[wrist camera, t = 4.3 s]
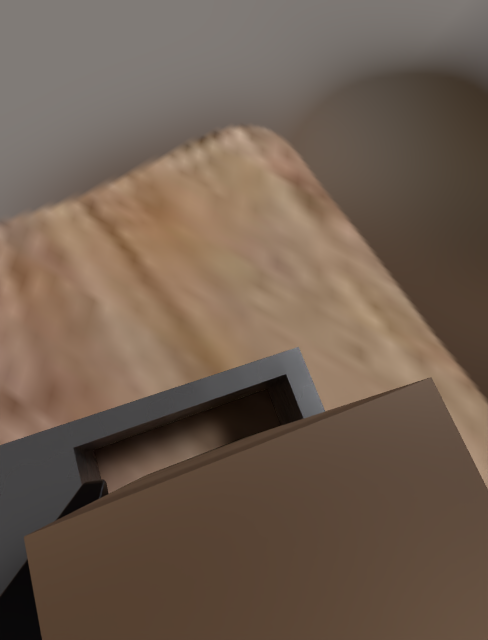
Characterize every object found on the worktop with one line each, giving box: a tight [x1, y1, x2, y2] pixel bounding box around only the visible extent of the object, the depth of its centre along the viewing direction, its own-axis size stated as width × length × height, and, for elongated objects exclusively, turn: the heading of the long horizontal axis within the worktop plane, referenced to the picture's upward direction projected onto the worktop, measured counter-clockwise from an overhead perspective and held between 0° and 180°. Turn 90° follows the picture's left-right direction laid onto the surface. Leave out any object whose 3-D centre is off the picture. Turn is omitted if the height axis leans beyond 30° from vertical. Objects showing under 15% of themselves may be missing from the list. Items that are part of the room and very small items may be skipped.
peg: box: [24, 378, 488, 640], centre depth 9 cm, size 4×4×12 cm
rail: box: [0, 347, 325, 595], centre depth 11 cm, size 8×21×3 cm, turn 110°
